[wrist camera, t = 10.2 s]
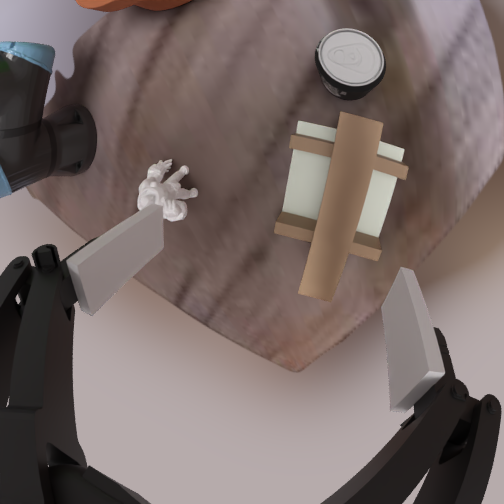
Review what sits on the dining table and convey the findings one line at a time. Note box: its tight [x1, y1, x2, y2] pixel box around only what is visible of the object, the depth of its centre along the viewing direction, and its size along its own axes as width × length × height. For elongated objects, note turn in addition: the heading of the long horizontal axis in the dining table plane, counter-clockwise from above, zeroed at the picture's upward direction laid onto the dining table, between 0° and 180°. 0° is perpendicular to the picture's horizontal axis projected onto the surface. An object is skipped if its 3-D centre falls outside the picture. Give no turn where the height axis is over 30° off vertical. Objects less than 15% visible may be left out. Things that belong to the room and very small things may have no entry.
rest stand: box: [274, 121, 409, 261], centre depth 33 cm, size 14×16×5 cm
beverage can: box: [315, 29, 386, 100], centre depth 22 cm, size 7×7×12 cm
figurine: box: [137, 159, 198, 222], centre depth 36 cm, size 10×5×12 cm, turn 65°
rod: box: [298, 111, 383, 302], centre depth 28 cm, size 4×20×6 cm, turn 173°
